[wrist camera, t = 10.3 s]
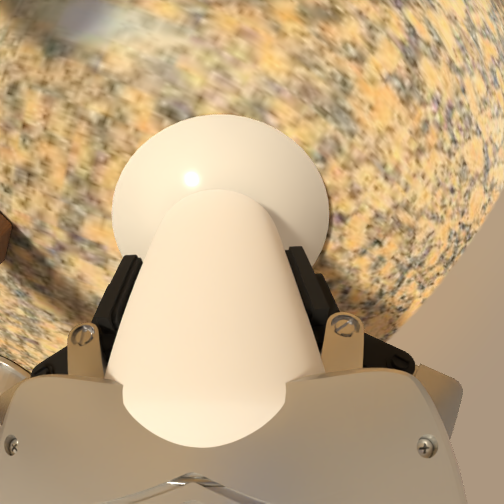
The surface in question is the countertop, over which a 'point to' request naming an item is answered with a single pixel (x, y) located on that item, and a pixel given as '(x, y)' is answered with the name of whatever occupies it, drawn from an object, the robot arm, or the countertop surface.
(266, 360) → the can
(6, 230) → the wooden block
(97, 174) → the countertop surface
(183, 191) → the white dome
